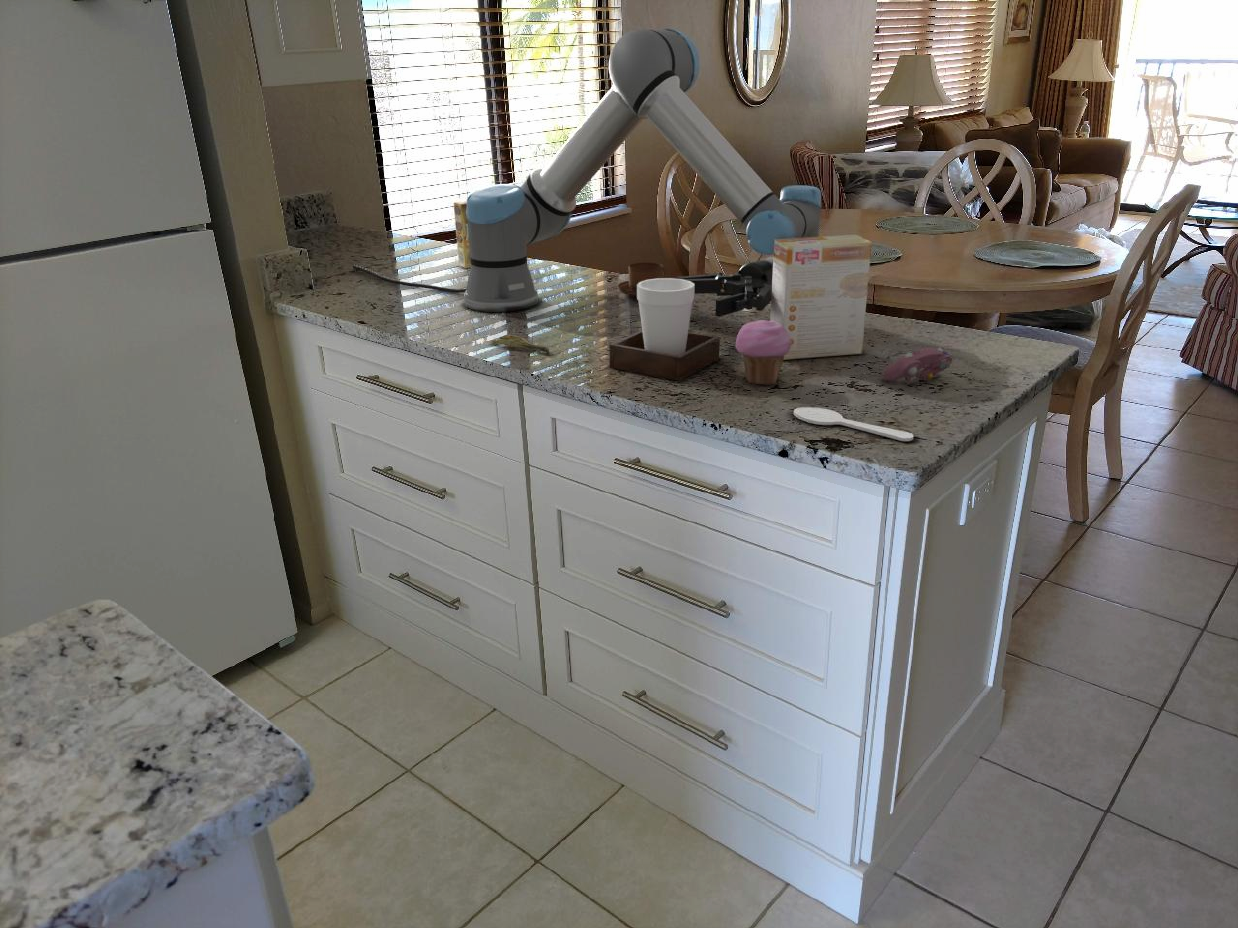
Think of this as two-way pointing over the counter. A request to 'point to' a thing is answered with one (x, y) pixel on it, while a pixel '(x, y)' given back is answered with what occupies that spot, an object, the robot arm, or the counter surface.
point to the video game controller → (918, 365)
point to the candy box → (462, 234)
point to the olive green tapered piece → (518, 343)
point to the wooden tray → (664, 356)
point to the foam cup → (665, 313)
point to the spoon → (847, 422)
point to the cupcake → (763, 350)
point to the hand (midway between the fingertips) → (686, 301)
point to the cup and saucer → (641, 276)
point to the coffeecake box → (821, 293)
